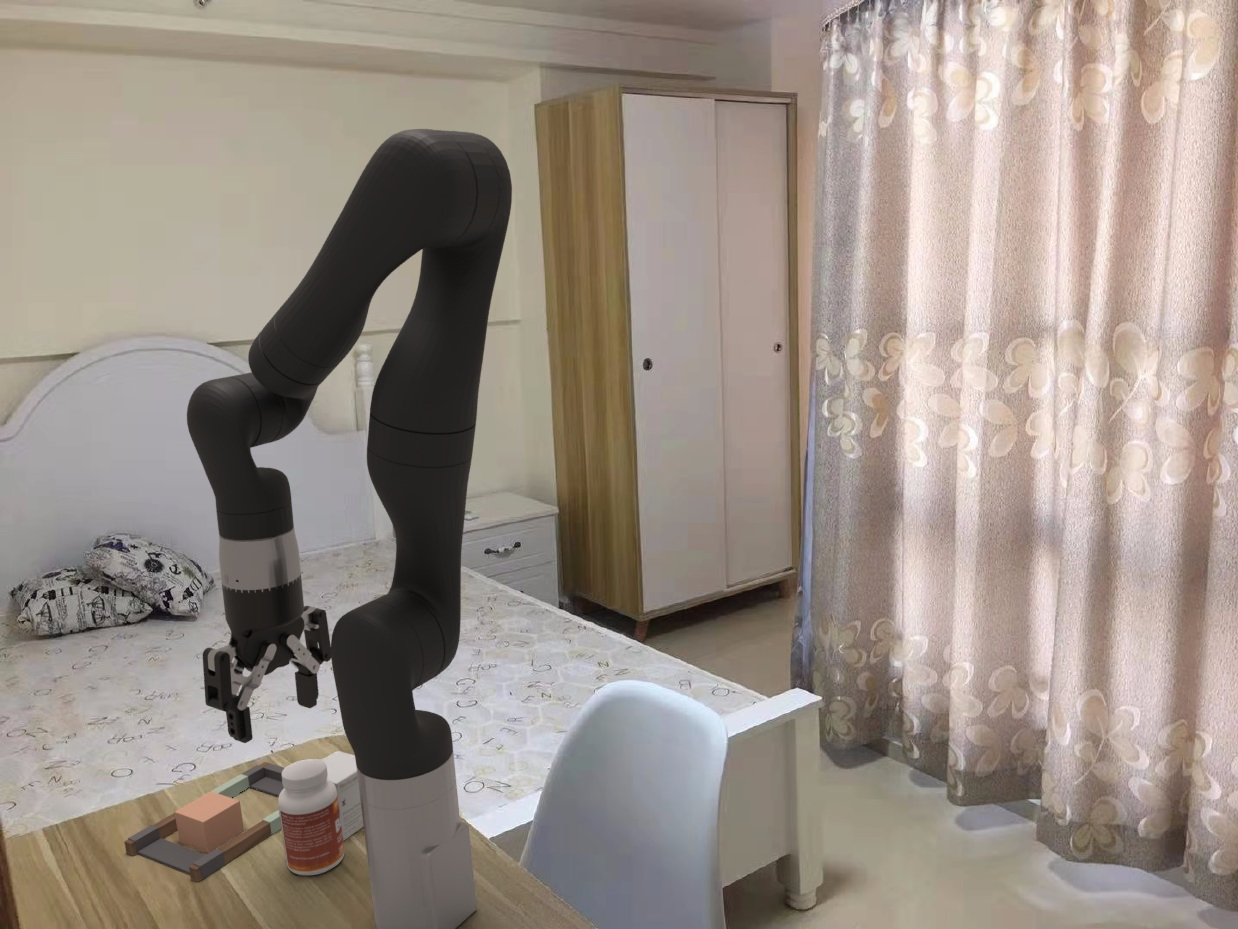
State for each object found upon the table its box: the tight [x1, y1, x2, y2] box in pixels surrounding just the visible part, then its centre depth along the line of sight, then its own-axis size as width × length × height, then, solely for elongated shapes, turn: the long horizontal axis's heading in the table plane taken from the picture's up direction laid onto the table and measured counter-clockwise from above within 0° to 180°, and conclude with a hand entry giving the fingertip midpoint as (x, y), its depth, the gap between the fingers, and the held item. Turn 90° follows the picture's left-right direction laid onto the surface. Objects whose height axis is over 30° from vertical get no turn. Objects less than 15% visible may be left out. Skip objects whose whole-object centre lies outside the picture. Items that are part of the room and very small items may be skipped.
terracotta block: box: [174, 790, 245, 854], centre depth 121 cm, size 5×5×4 cm
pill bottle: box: [277, 758, 345, 876], centre depth 114 cm, size 6×6×11 cm
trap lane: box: [124, 761, 285, 883], centre depth 124 cm, size 12×20×2 cm, turn 149°
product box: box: [320, 750, 364, 841], centre depth 122 cm, size 6×6×7 cm
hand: (276, 722), depth 108 cm, fingers open, 8 cm apart
